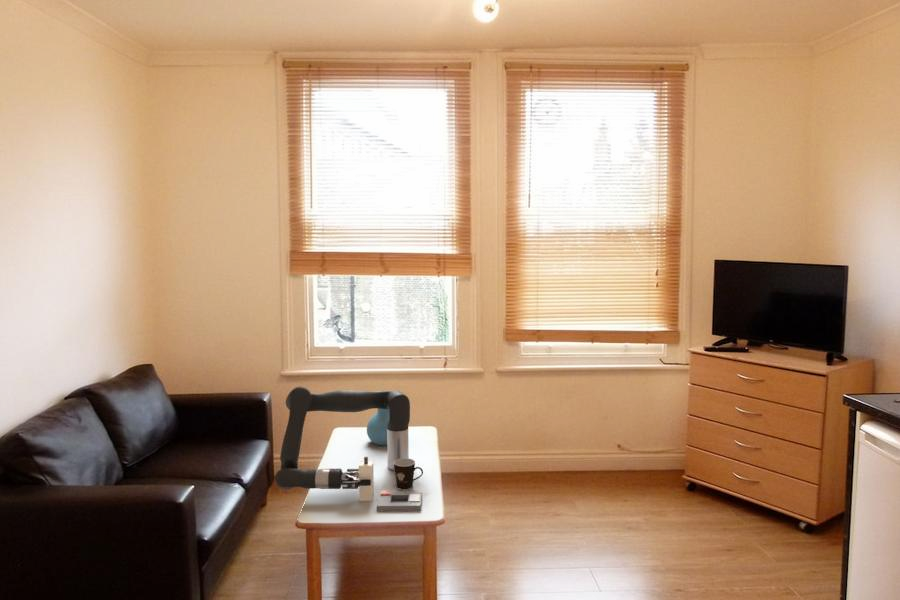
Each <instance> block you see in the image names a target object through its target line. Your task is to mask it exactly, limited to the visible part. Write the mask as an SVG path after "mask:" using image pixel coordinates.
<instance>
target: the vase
mask: <svg viewBox="0 0 900 600" xmlns="http://www.w3.org/2000/svg"><path fill="white" fill-rule="evenodd" d="M381 391H386V390H378V391H376V392H381ZM388 421H389V410H387V409H378V408H377V412H376V413H375V414H373V415H372V416H371V417H370V419H369V421H368V422H367V425H366V434H367V437H368V439H369V440H370V441H371V442H372V443H373V444H374V445H378V446H387V422H388Z"/></svg>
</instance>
